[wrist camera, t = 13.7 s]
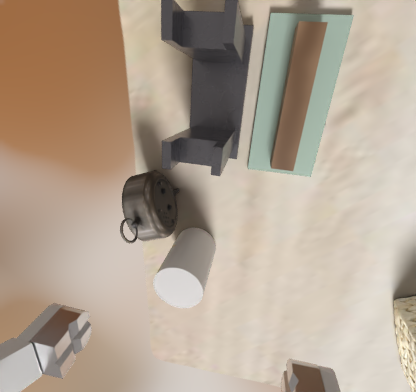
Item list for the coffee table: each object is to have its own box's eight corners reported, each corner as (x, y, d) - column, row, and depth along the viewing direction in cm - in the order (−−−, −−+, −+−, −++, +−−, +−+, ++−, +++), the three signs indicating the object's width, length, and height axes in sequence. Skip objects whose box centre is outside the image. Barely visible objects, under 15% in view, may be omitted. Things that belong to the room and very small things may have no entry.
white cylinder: (173, 228, 47) (147, 267, 36) (212, 226, 45) (197, 267, 34) (181, 261, 50) (160, 307, 39) (218, 261, 48) (207, 308, 37)
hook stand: (253, 27, 32) (249, -25, 18) (237, 157, 39) (225, 190, 25) (196, 25, 33) (152, -25, 19) (190, 151, 40) (155, 180, 27)
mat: (351, 17, 30) (353, 15, 29) (309, 175, 38) (310, 176, 37) (270, 14, 31) (270, 12, 30) (247, 167, 39) (247, 168, 39)
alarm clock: (145, 166, 43) (87, 202, 28) (172, 160, 42) (125, 194, 27) (165, 218, 47) (122, 274, 32) (190, 214, 45) (157, 271, 31)
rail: (321, 29, 30) (327, 22, 27) (290, 165, 37) (293, 171, 34) (295, 28, 30) (299, 21, 28) (270, 162, 38) (271, 168, 35)
